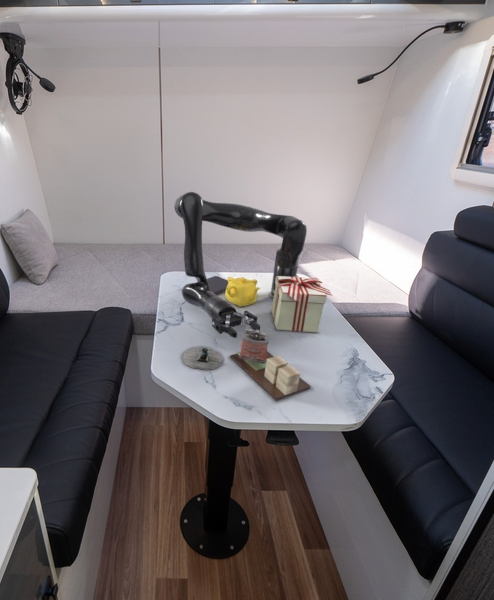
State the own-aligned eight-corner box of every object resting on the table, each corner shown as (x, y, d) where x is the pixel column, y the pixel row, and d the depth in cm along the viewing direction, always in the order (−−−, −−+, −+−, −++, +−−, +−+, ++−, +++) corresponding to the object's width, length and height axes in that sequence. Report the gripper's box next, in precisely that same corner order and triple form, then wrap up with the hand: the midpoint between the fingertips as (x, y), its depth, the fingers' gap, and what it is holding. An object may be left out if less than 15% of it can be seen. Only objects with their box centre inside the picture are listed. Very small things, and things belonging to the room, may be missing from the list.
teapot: (259, 297, 156) (262, 274, 151) (258, 311, 144) (260, 286, 140) (226, 293, 158) (228, 271, 154) (222, 306, 147) (224, 282, 143)
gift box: (278, 336, 128) (286, 290, 120) (267, 311, 144) (273, 270, 137) (328, 337, 128) (338, 291, 120) (311, 312, 144) (319, 271, 137)
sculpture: (228, 367, 111) (213, 354, 107) (204, 386, 113) (189, 373, 108) (214, 344, 121) (200, 331, 117) (193, 362, 123) (178, 349, 118)
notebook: (202, 300, 152) (236, 287, 165) (202, 296, 151) (237, 283, 164) (181, 290, 161) (215, 278, 173) (181, 287, 160) (216, 275, 173)
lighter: (266, 358, 114) (270, 330, 109) (265, 365, 111) (269, 336, 106) (240, 353, 116) (243, 325, 112) (238, 359, 113) (241, 330, 109)
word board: (261, 348, 121) (263, 330, 118) (310, 388, 103) (314, 368, 100) (229, 357, 116) (231, 338, 113) (276, 400, 98) (279, 380, 95)
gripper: (201, 304, 122) (229, 326, 109) (237, 296, 128) (268, 316, 115) (200, 324, 125) (227, 348, 112) (236, 315, 131) (265, 337, 118)
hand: (247, 332), depth 113 cm, fingers open, 8 cm apart
